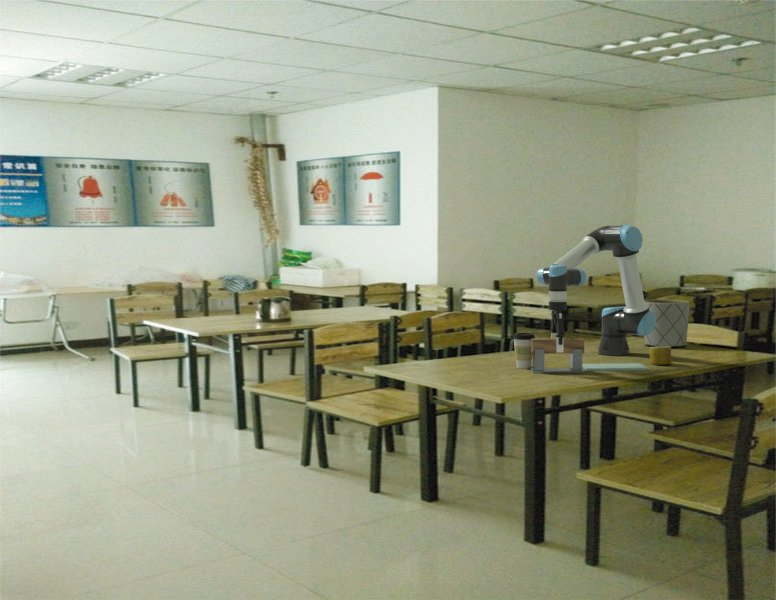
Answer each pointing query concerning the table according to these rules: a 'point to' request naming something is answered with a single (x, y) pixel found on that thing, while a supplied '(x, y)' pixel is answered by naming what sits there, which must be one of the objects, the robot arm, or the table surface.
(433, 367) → the table surface
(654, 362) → the mug
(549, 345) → the rail
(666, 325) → the planter
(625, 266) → the robot arm
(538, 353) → the standards
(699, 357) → the table surface
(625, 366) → the mat
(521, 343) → the coffee cup
